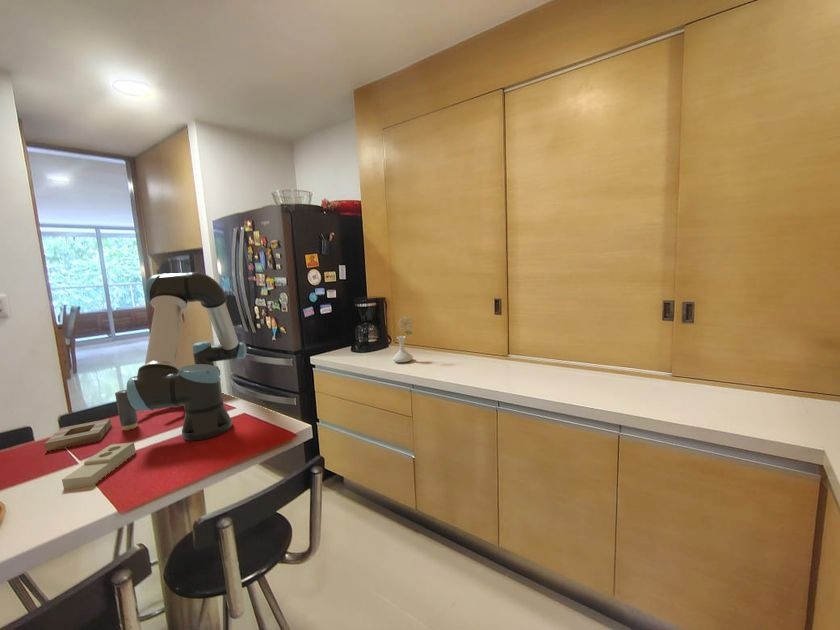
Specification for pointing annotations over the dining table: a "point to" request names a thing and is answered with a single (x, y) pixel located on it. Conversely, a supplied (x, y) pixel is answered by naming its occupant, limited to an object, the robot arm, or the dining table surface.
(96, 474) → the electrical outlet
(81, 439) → the socket plate
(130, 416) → the plug
